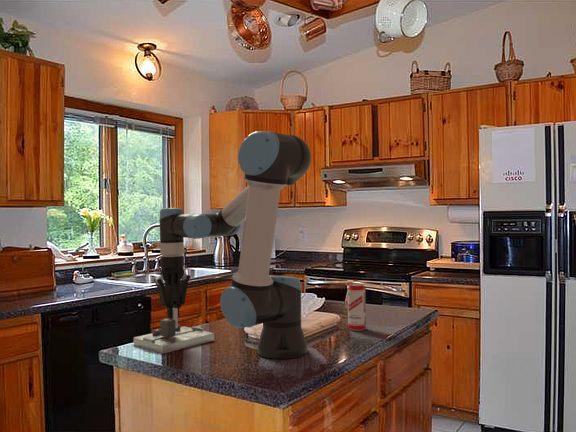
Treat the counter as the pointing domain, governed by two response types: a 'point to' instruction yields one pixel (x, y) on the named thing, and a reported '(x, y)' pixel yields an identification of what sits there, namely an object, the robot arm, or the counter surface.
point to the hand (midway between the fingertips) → (173, 327)
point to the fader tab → (167, 328)
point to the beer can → (356, 307)
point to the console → (174, 339)
